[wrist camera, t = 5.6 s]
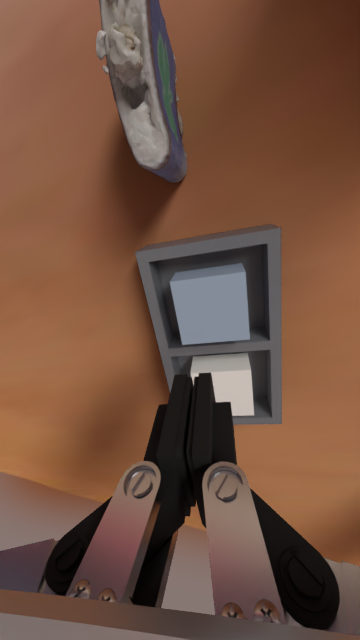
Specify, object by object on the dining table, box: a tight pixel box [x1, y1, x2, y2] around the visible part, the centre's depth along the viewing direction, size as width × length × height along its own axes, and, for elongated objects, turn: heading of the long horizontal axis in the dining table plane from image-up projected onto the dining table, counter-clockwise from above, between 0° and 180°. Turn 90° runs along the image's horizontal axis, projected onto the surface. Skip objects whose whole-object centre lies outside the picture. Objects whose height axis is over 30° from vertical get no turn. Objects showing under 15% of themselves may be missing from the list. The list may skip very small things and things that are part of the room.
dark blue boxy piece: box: [96, 0, 187, 182], centre depth 15 cm, size 9×3×11 cm, turn 8°
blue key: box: [170, 263, 250, 345], centre depth 21 cm, size 6×6×3 cm
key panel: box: [135, 224, 282, 424], centre depth 26 cm, size 12×21×4 cm, turn 10°
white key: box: [190, 353, 254, 416], centre depth 26 cm, size 6×6×3 cm
